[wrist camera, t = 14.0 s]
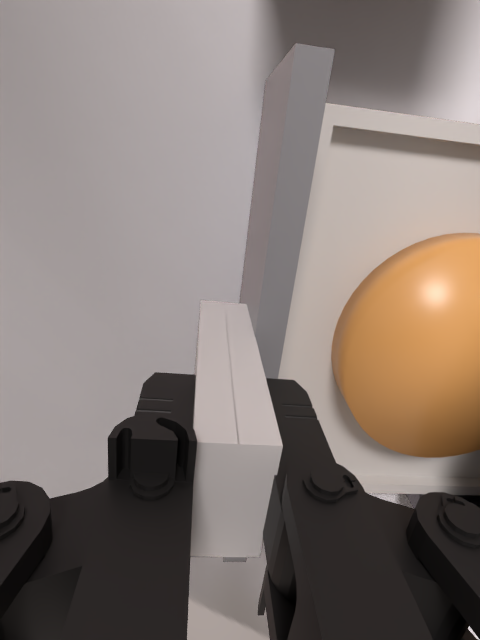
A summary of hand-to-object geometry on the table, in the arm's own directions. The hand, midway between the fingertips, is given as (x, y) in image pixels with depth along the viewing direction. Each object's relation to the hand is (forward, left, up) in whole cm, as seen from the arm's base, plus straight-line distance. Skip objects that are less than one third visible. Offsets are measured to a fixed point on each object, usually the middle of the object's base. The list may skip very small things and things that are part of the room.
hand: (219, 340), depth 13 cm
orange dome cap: (+8, 0, -1) cm, 8 cm away
